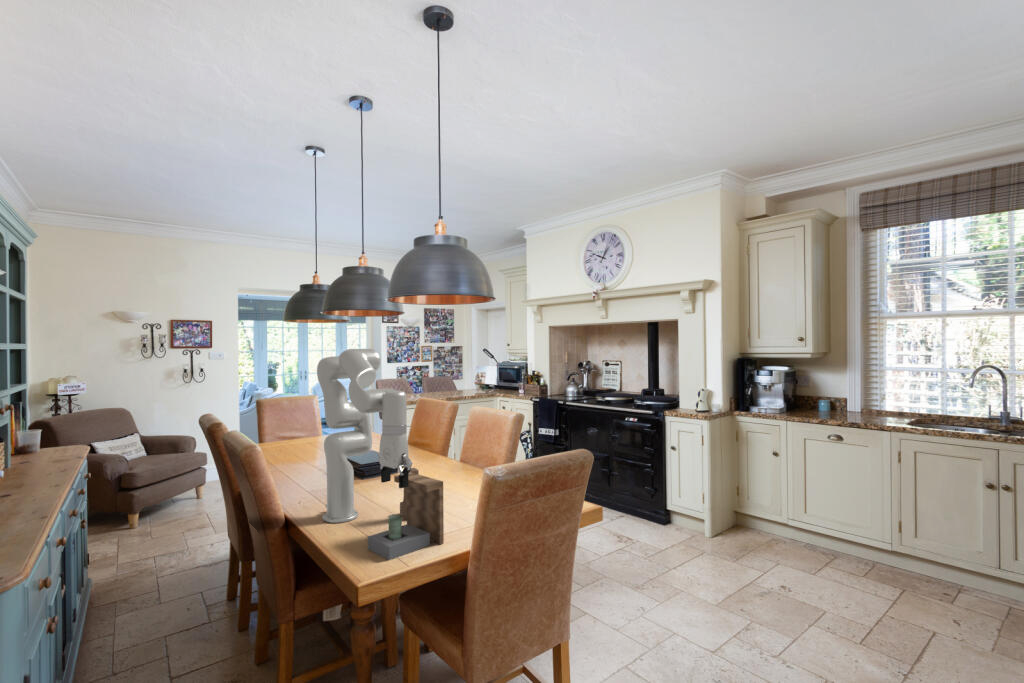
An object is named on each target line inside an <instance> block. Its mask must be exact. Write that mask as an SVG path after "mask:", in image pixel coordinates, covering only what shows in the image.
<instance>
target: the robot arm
mask: <svg viewBox="0 0 1024 683" xmlns="http://www.w3.org/2000/svg"><path fill="white" fill-rule="evenodd" d="M380 366H381V357H380V354H379V353H378V352H377V350H375V349H374V348H373V349H372V348H349V349H345V350H344V351H342V352H341V353H340V354H339V355H338V356H337V355H334V356H328V357H327V356H326V357H324V358H322V359H320V360H319V362H318V363H317V366H316V376H317V381H318V384H319V386H320V388H321V391H322V396H323V407H324V417H325V418H324V419H325V423H326V425H327V427H328V428H330V429H332V430H338V429H347V428H354V429H355V430H349V431H348V430H346V431H340V432H335V433H331V434H329V435H328V436H326V437H325V438H324V440H323V441H324V442H323V450H324V455H325V461H326V462H325V464H326V504H325V508H326V513H324V514H323V515H322V520H323V521H324V522H326V523H329V524H330V523H332V524H335V523H336V524H338V523H345V522H350V521H353V520H354V519H356V518H358V516H359V511H357V510H356V509H355V489H354V487H355V483H354V482H355V478H354V477H355V473H354V466H353V465H352V463H351V462H350V461H349V460H348V459H349V458H351V457H355V456H364V455H367V454H369V453H370V452H371V450H372V447H373V438H372V436H373V435H372V427H371V419H370V414H374V413H381V422H382V424H381V435H380V443H379V453H378V454H377V458H378V463H379V465H380V466H379V469H380V482H381V483H388V482H390V481H391V480H392V478H391V475H392V474H391V470H392V469H393V470H396V469H397V470H398V473H399V474H398V475H399V483H398V489H404V488H405V487H408V474H409V473H410V470H411V468H412V465H413V461H412V460H411V459H410V458H409V442H408V436H407V424H408V423H407V419H408V418H407V394H406V392H405V391H403V390H397V389H395V388H372V389H367V388H368V387H370V386H371V385H373V383H374V382H375V380H376V379H377V378H376V377H377V371H378V369H379V368H380ZM341 379H342V380H343V379H349V380H350V382H349V385H348V392H347V389H346V387H345V386H344V385H343V384H342V382H340V381H339V380H341ZM348 396H349V400H350V401H348Z"/></svg>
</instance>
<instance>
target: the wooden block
mask: <svg viewBox="0 0 1024 683" xmlns="http://www.w3.org/2000/svg"><path fill="white" fill-rule="evenodd" d="M410 472H412V473H415V474H419V475H420V473H419V469H417V468H415V467H411V470H410ZM399 515H400V516H401V517H403V519H405V520H407V487H405V488H403V499H402V501H400V502H399Z"/></svg>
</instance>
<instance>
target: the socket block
mask: <svg viewBox="0 0 1024 683" xmlns="http://www.w3.org/2000/svg"><path fill="white" fill-rule="evenodd" d="M429 545H431V541H430V533H429V532H426V531H424V530H421V529H419V528H416V527H414V526H411V525H409V524H407V523H406V524H404V525H402V538H400V539H397V540H394V541H392V540H389V529H387V530H384V531H382V532H378V533H376V534H372V535H368V536H367V550H368V549H369V550H368V551H370V550H371V551H370V552H372V551H373V552H372V553H375V554H376V555H378V556H380V557H382V558H385V559H386V560H389V561H391V559H392V560H393V559H397V558H400V557H402V556H404V554H405V555H408V554H410V552H411V553H413V552H416V551H420V550H421V548H422V549H424V548H427V547H429ZM426 546H427V547H426ZM399 556H400V557H399ZM396 557H397V558H396Z"/></svg>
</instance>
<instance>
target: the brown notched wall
mask: <svg viewBox="0 0 1024 683" xmlns="http://www.w3.org/2000/svg"><path fill="white" fill-rule="evenodd" d="M399 475H400V474H395V475H394V477H393V480H394V481H393V482H395V483H397V484H399ZM406 524H409V525H411V526H414V527H416V528H419V529H421V530H424V531H426V532H429V533H430V540H431V541H430V542H432V541H433V542H432V543H434V542H436V543H435V544H437V543H438V544H437V545H439V544H441V545H443V544H442V543H444V542H445V541H444V540H445V539H444V538H445V535H444V531H445V530H444V525H445V524H444V481H443V480H439V479H437V478H436V479H435V478H432V477H429V476H425V475H421V474H420V473H419V474H415V473H412V472H410V473H409V474H408V487H407V519H406Z"/></svg>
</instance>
